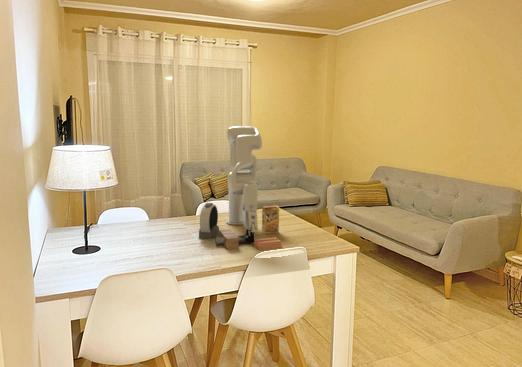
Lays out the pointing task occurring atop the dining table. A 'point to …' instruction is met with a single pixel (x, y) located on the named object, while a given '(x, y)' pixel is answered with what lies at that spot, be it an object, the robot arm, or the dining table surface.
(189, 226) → the dining table surface
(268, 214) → the candy box
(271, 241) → the v block
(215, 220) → the alarm clock
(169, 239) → the dining table surface
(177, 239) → the dining table surface
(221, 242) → the axle
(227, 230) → the beam
